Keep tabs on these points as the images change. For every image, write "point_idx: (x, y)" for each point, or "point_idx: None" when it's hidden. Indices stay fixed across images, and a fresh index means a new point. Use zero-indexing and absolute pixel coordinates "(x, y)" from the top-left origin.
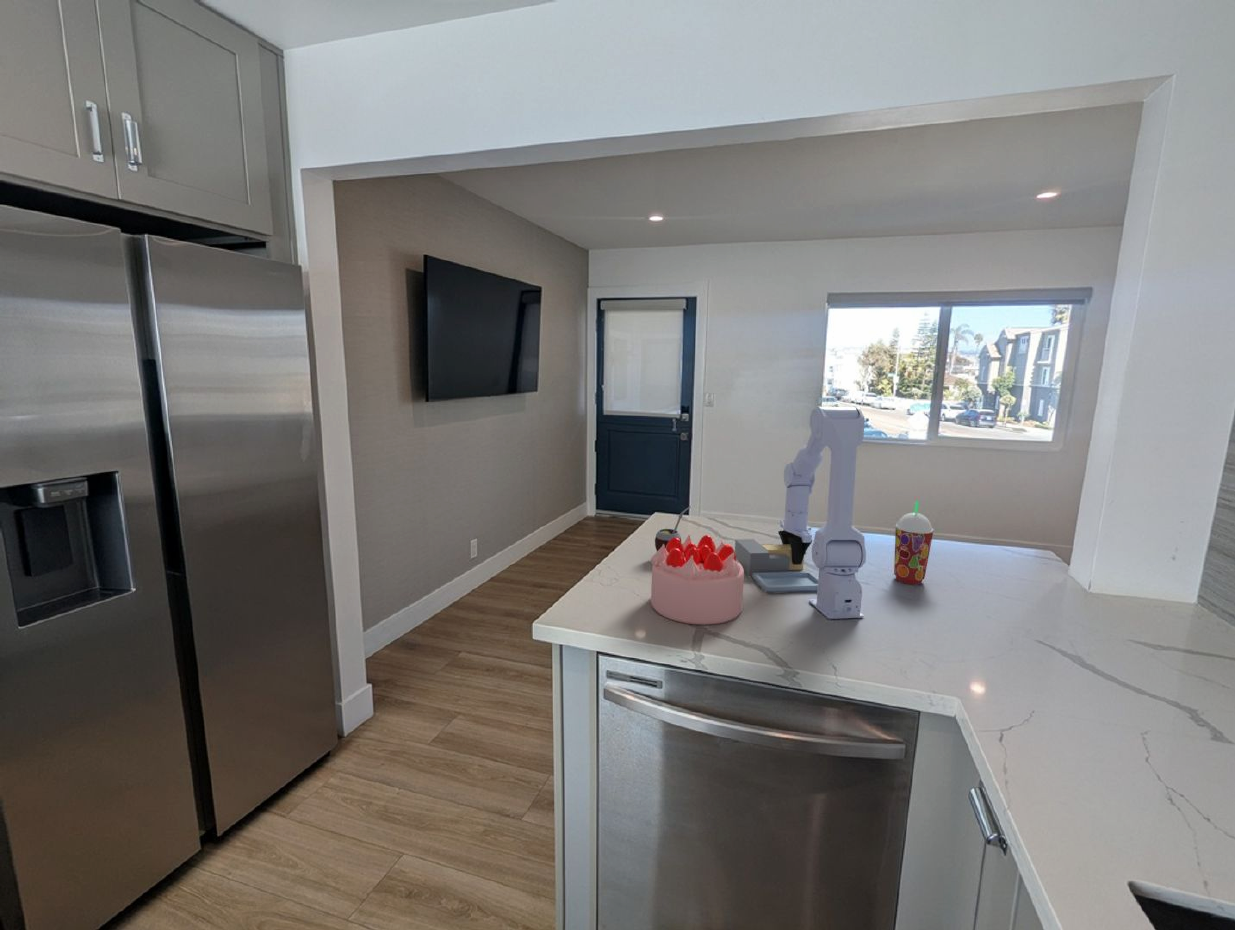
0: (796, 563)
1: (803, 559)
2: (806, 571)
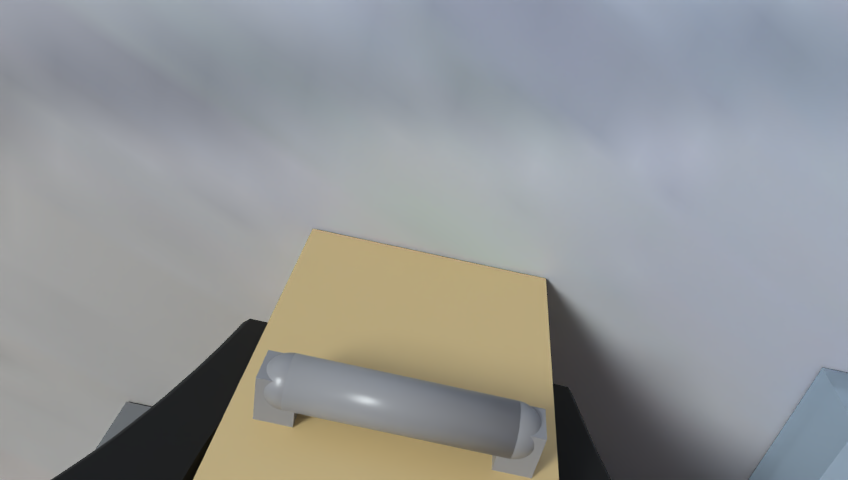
0: None
1: (551, 389)
2: (830, 476)
